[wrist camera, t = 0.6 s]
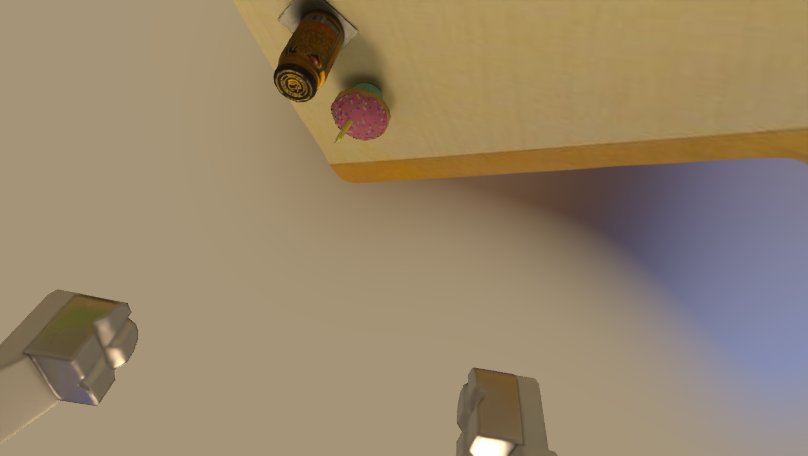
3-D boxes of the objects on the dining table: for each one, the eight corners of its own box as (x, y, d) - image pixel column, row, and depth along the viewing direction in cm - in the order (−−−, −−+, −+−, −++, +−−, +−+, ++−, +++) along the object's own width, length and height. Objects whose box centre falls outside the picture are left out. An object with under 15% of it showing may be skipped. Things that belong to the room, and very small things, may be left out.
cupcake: (331, 96, 70) (307, 150, 63) (357, 59, 63) (334, 115, 57) (377, 126, 73) (359, 181, 66) (406, 94, 67) (390, 151, 60)
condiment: (328, 62, 65) (302, 117, 58) (278, 19, 61) (243, 73, 54) (359, 31, 60) (333, 87, 53) (306, -18, 56) (272, 36, 49)
